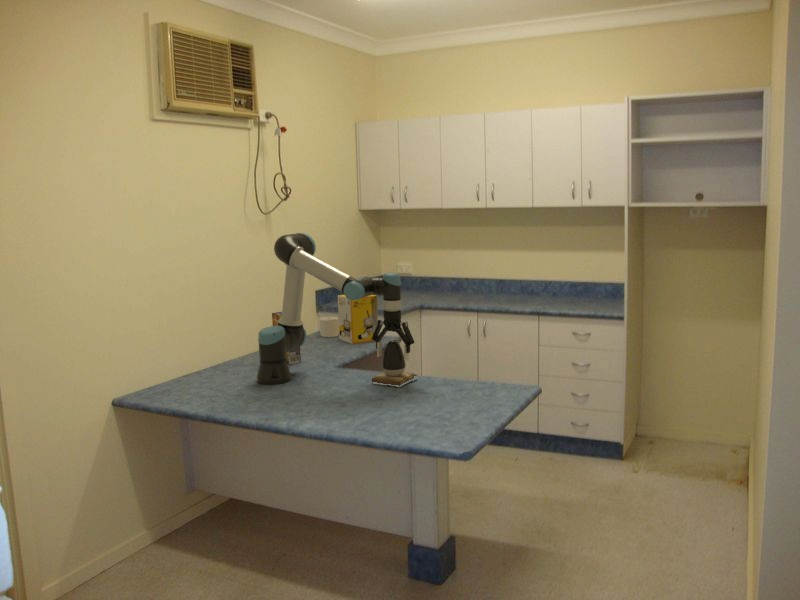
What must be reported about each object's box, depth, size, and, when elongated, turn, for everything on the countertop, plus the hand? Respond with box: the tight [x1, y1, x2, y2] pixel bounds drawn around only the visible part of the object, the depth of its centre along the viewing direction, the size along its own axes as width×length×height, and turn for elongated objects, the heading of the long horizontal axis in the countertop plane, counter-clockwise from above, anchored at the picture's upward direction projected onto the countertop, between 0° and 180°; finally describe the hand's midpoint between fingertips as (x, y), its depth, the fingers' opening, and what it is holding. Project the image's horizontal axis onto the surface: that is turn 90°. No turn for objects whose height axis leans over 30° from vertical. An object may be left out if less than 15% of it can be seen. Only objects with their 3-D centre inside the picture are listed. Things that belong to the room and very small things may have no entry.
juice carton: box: [271, 311, 302, 365], centre depth 358 cm, size 12×8×24 cm, turn 43°
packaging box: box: [337, 294, 379, 345], centre depth 405 cm, size 16×16×25 cm
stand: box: [371, 371, 418, 386], centre depth 315 cm, size 14×14×3 cm
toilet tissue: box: [319, 316, 339, 338], centre depth 420 cm, size 11×12×10 cm
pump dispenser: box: [381, 339, 407, 377], centre depth 313 cm, size 10×10×15 cm
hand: (393, 358), depth 313 cm, fingers open, 13 cm apart
